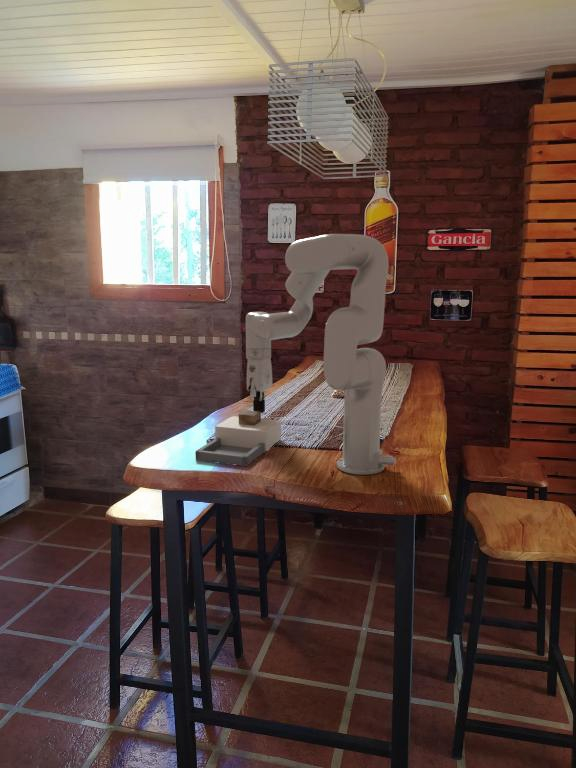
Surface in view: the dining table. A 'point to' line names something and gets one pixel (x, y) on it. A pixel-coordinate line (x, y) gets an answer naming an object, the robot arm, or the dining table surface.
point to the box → (228, 453)
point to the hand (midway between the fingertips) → (259, 412)
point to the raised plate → (248, 433)
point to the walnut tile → (249, 417)
